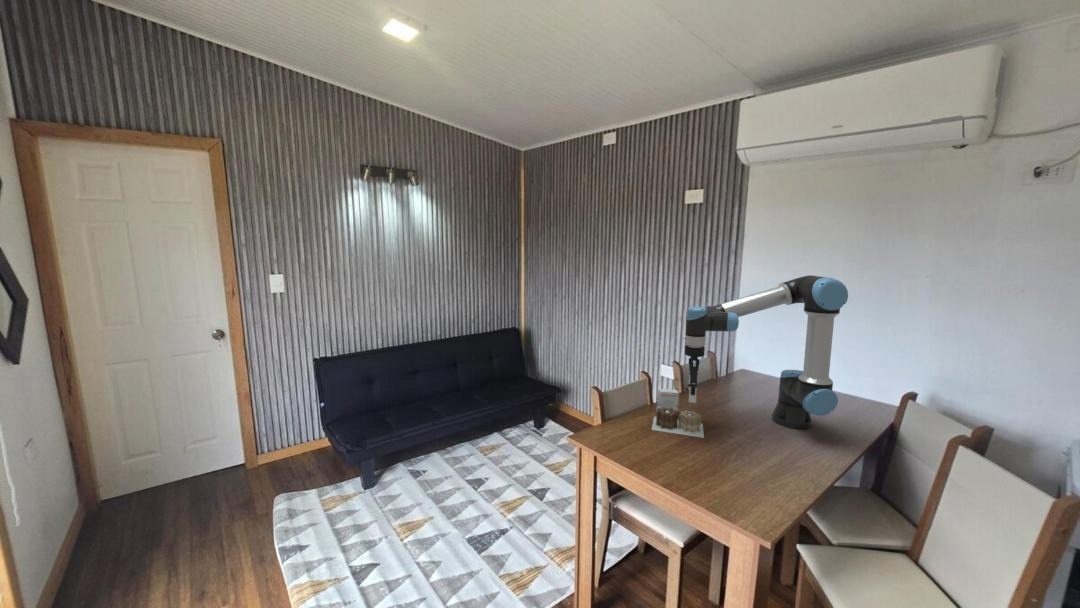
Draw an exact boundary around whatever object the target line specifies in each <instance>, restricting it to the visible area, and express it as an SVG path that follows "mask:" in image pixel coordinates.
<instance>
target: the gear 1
mask: <svg viewBox="0 0 1080 608" xmlns="http://www.w3.org/2000/svg"><path fill="white" fill-rule="evenodd" d="M656 410H657V411H656V417H657V419H656V425H659V426H661V428H668V429H672V428H677V421H678V420H679V410H678V411H675V410H673V408H670V409H669V408H665V407H663V408H661V409H660V408H658V409H657V408H656ZM666 411H670V412H669V413H666Z"/></svg>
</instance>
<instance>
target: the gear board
mask: <svg viewBox="0 0 1080 608" xmlns="http://www.w3.org/2000/svg"><path fill="white" fill-rule="evenodd" d="M669 412H670V411H666V413H669ZM688 416H692V414H688ZM656 419H657V416H656V415H655V416H653V421H652V425H651V430H652V431H658V432H662V433H663V432H664V433H669V434H677V435H683V436H687V437H688V436H689V437H696V438H703V439H704V438H705V435H704V425H703V423H702V422H700V431H699V432H698V431H695V432H694V433H692V432H689V431H686V432H685V431H684V430H683V429H679V428H678V422H679V419H678V421H677V428H672V429H668V428H661V426H659V425H656Z"/></svg>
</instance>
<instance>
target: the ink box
mask: <svg viewBox="0 0 1080 608" xmlns="http://www.w3.org/2000/svg"><path fill="white" fill-rule="evenodd" d="M656 399H657V400H656V410H655V411H656V412H657V409H658V408H660V409H661V408H663V407H665V408H669V409H670V408H673V410H675V411H678V412H679V403H680V401H679V399H680V392H679V391H678V390H677V389H668V388H667V389H666V388H665V389H664V388H658V389H657V398H656Z"/></svg>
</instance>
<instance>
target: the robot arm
mask: <svg viewBox="0 0 1080 608" xmlns="http://www.w3.org/2000/svg"><path fill="white" fill-rule="evenodd" d="M848 299H849V291H848V288H847V286H846V285H845V284H844V283H843V282H842V281H840V280H839V279H836V278H833V277H829V276H828V277H827V276H821V275H820V276H818V275H810V274H809V275H804V276H803V275H802V276H800V277H797V278H793V279H791V280H788V281H784V282H781V283H779V284H778V286H776V287H773V288H769V289H766V290H763V291H759V292H756V293H752V294H749V295H747V296H746V295H745V296H743V297H740V298H735V299H732V300H731V301H725V302H723V303H720V304H715V305H705V306H689V307H688V308H686V315H685V336H683V339H684V344H685V345H684V355H685V356H686V357H689V358H688V365H689V368H688V369H689V370H688V371H689V372H688V373H689V376H688V384H687V387H688V391H689V392H688V403H693V404H696V403H697V395H698V394H697V393H698V392H697V391H698V376H699V373H698V372H699V367H700V359H699V358H701V357H704V356H705V353H706V352H705V350H706V349H705V346H706V333H707V332H726V333H727V332H728V333H729V332H735V331H737V330H738V328H739V325H740V320H739V318H740V317H744V316H747V315H750V314H755V313H758V312H761V311H764V310H768V309H771V308H774V307H777V306H782V305H787V306H789V305H793V304H803V312H804V313H805V314H806V315H807V323H806V324H807V325H806V335H805V348H804V358H803V359H804V360H803V370H800V369H784V370H782V371H781V373H780V377H779V387H778V397H777V399H778V400H777V403H776V405H775V407H774V408H773V410H772V412H771V420H772V421H773V422H775V423H777V424H778V425H781V426H784V427H786V428H791V429H798V430H807V429H810V428H811V427H812V425H813V420H812V416H811V414H812V415H814V416H819V417H820V416H827V415H829V414H830V413H831V412H833V411H835V410H836V408H837V407H838V403H839V398H838V396H837V393H836V392H835V391H833V387H834V386H833V385H834V381H833V380H832V379H831V377H830V368H831V367H830V366H831V357H832V347H833V346H832V345H833V335H834V333H833V332H834V323H835V318H836V317H837V315H839V314H840V313H841V309H842V308H843V306H844V305H846V303H847V302H848Z"/></svg>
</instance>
